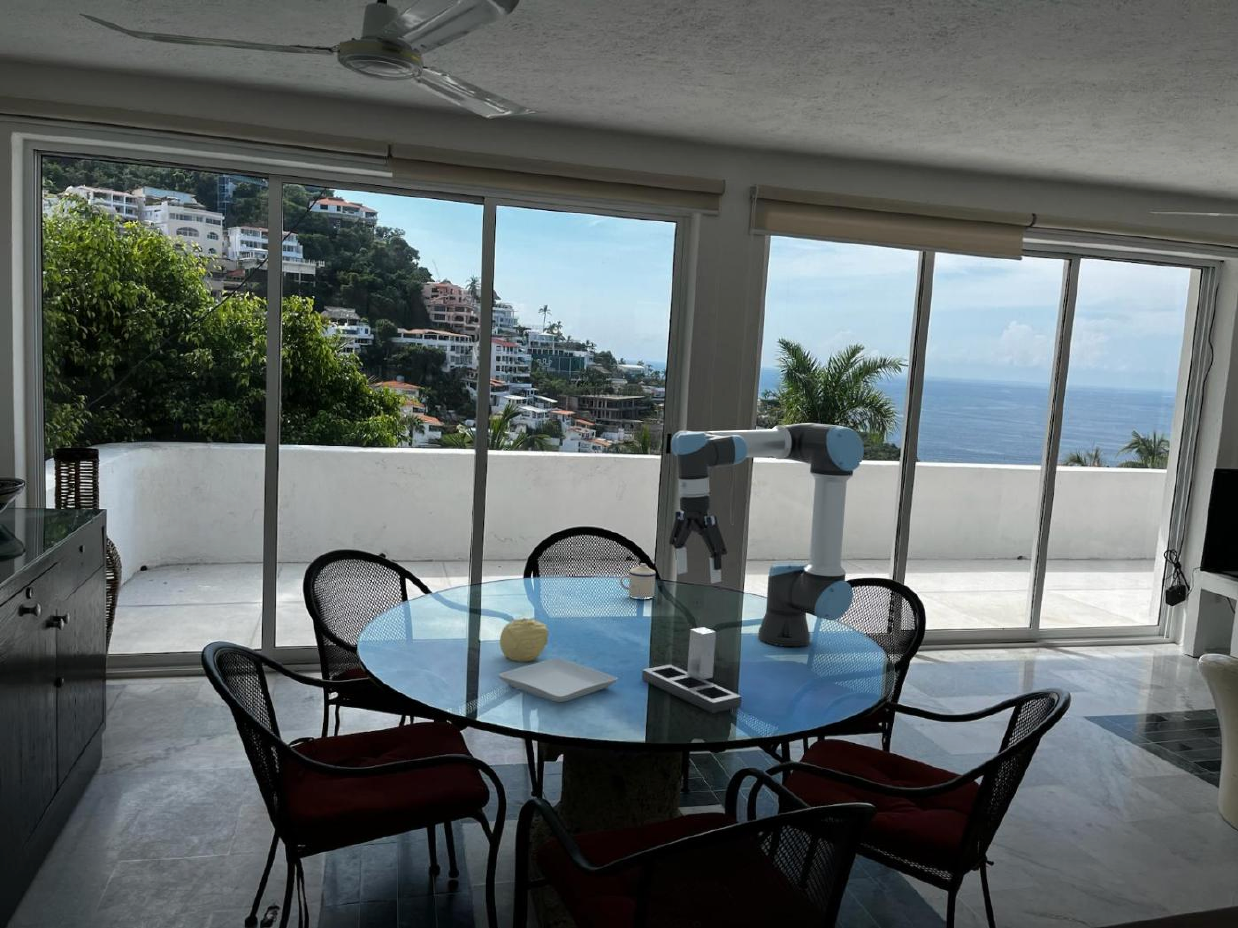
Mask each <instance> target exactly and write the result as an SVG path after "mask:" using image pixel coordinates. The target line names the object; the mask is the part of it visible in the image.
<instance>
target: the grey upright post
mask: <svg viewBox="0 0 1238 928" xmlns="http://www.w3.org/2000/svg"><path fill="white" fill-rule="evenodd" d="M716 635H717V632H716V631H715V630H713V629H709V628H707V627H705V626H704V627H703V626H702V627H697V628H692V629H690V630H689V644H688V645H689V646H688V657H687V658H688V660H687V671H686V672H688V673H690V674H693V675H695V676H697V677H699V678H702V679H704V680H708V679H713V675H714V674H713V673H714V665H715V664H714V661H715V649H716V637H717V636H716Z"/></svg>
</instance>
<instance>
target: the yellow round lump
mask: <svg viewBox="0 0 1238 928" xmlns="http://www.w3.org/2000/svg"><path fill="white" fill-rule="evenodd" d="M548 636H549V630H548V626H547V625H546V624H545V623H544V622H543V623H542V622H541V621H539V620H535V618H533V617H529V618H526V617H523V618H516V619H514V620H512V621H510V622H509V623H507V624H505V626H504V627H503V629H502V631H501V634H500V637H499V645H500V648H501V652H502V653H503V655H504V656H505V657H506V658H508V659H509V660H511V661H514V662H518V663H519V662H521V663H523V662H533V661H535V660H537V658H539V656H540V655H541V654H542V652H543V650H544V648H545V646H546V645H548V641H549V640H548Z"/></svg>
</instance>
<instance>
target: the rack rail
mask: <svg viewBox="0 0 1238 928" xmlns="http://www.w3.org/2000/svg"><path fill="white" fill-rule="evenodd" d="M641 672H642V674H641V680H642V681H645V682H647V683H648V684H651V685H653V686H655V687H657V688H659V689H661V690H664V691H665V692H667V693H669V694H671V695H673V696H676V697H678V698H680V699H682V700H684V701H687V702H688V703H690V704H692V705H694V706H696V707H697V708H698V707H699V708H700V709H702V710H704V711H707V712H708V713H711V714H715V713H719V711H720V712H723V711H724V712H725V711H727V710H728V711H729V710H732V709H737V708H741V706H742V695H739V694H738V693H735V692H733V691H730V690H729V689H726V688H724V687H721V686H719V685H718V684H715V683H713V682H710V681H708V680H707V679H702V678H699V677H697V676H695V675H693V674H690V673H688V672H687V671H686V670H684V669H681V668H679V667H677V666H674V665H673V664H665V665H660V666H655V667H650V668H643V669H642V671H641ZM714 697H715V698H714Z"/></svg>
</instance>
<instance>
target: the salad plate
mask: <svg viewBox="0 0 1238 928" xmlns="http://www.w3.org/2000/svg"><path fill="white" fill-rule="evenodd" d="M497 677H498V678H499V679H500V680H501V681H502V682H503V683H505V684H507V685H509V686H511V687H515V688H517V689H518V688H519V689H518V690H520V689H521V691H523V690H524V692H526V693H529V694H531V695H533V696H537V697H539V696H540V697H539V698H542V697H543V698H542V699H546V700H548V701H551V702H554V703H555V702H556V703H565V702H568V701H571V700H575V699H578V698H580V697H581V698H582V697H583V696H587V695H589V694H592V693H595V692H598V691H600V690H603V689H606V688H609V687H611V686H612V685H614V684H615V683H616V682H617V681H618V679H619V678H618V677H616V676H613V675H612V674H608V673H605V672H602V671H599V670H597V669H593V668H591V667H588V666H585V665H582V664H577V663H575V662H571V661H569V660H565V659H561V658H558V657H555V658H550V659H546V660H544V661H539V662H536V663H531V664H529V665H525V666H521V667H518V668H515V669H511V670H508V671H503V672H501V673H499V674H498V675H497Z"/></svg>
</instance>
